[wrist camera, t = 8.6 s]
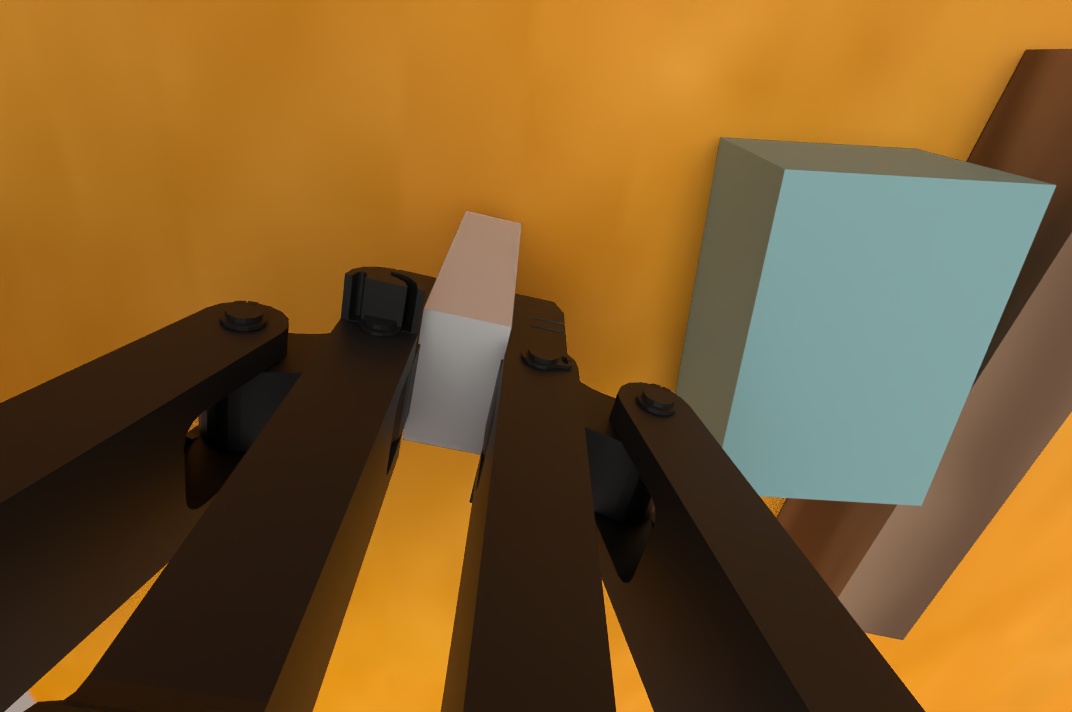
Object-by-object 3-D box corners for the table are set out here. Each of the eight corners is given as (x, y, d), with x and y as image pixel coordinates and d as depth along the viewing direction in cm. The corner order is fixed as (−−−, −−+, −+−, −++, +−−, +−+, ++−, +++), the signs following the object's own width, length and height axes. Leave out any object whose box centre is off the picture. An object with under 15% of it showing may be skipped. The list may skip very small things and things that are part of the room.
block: (674, 390, 23) (711, 493, 17) (719, 136, 19) (784, 169, 14) (835, 399, 23) (921, 506, 17) (913, 147, 19) (1056, 185, 13)
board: (774, 522, 25) (821, 623, 21) (1027, 49, 17) (1189, 47, 13) (841, 537, 26) (902, 640, 21) (1120, 76, 18) (1313, 83, 13)
